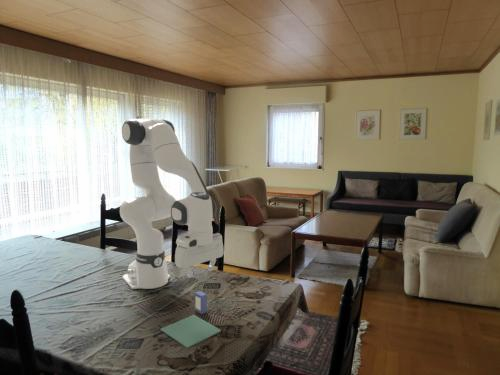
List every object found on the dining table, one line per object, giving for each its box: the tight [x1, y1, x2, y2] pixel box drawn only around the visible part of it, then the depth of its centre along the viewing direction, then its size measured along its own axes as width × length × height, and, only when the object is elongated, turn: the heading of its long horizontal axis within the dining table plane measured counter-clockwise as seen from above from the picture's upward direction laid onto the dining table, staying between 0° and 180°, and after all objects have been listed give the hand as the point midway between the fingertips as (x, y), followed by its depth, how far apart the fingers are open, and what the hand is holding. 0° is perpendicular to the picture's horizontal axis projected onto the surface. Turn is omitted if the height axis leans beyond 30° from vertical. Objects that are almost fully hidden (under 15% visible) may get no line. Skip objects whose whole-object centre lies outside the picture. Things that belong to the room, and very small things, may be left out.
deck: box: [194, 290, 208, 315], centre depth 136 cm, size 4×2×7 cm, turn 46°
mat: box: [159, 314, 222, 349], centre depth 122 cm, size 15×14×1 cm
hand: (200, 273), depth 134 cm, fingers open, 8 cm apart
